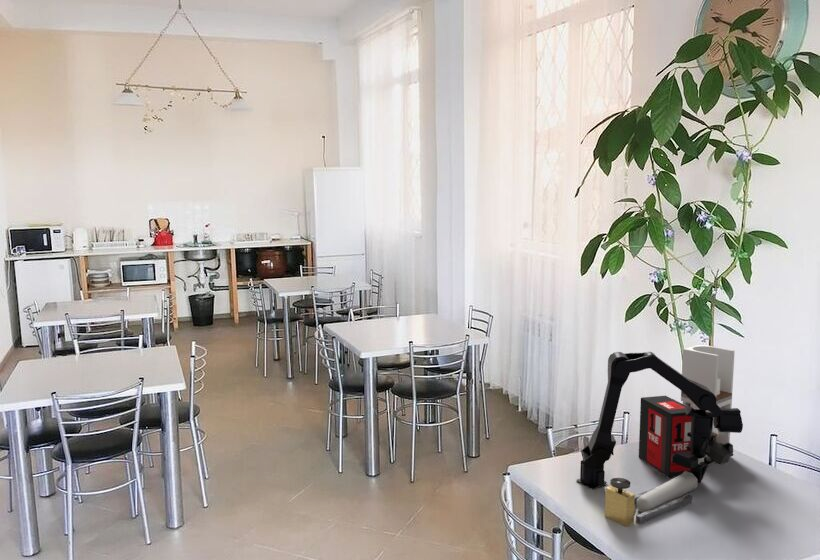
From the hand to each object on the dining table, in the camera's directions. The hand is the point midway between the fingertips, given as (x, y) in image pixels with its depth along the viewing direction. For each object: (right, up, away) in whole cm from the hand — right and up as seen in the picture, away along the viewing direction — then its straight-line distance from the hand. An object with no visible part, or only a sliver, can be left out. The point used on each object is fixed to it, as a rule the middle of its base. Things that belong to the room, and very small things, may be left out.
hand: (698, 482), depth 202 cm
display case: (+12, +1, +26) cm, 29 cm away
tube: (-12, -3, -7) cm, 15 cm away
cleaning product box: (-3, 0, +17) cm, 17 cm away
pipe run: (-19, -4, -12) cm, 23 cm away
